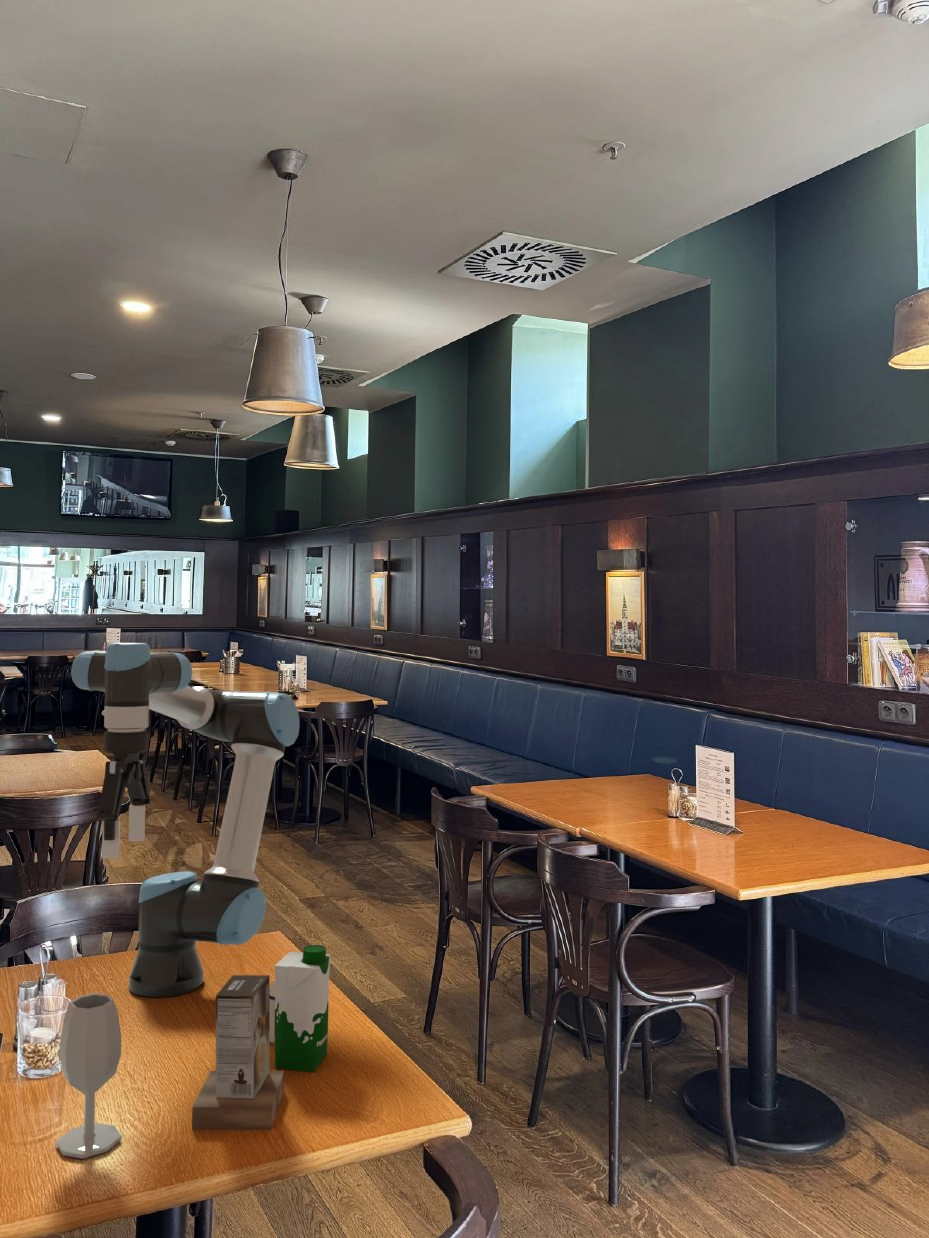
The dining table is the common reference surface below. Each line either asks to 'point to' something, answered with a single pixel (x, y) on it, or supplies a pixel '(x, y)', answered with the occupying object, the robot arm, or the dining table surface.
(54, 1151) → the dining table surface
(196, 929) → the robot arm
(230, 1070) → the coffee box
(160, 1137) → the dining table surface
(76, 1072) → the wineglass
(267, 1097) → the brown flat block
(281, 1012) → the milk carton
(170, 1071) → the dining table surface
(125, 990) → the dining table surface
